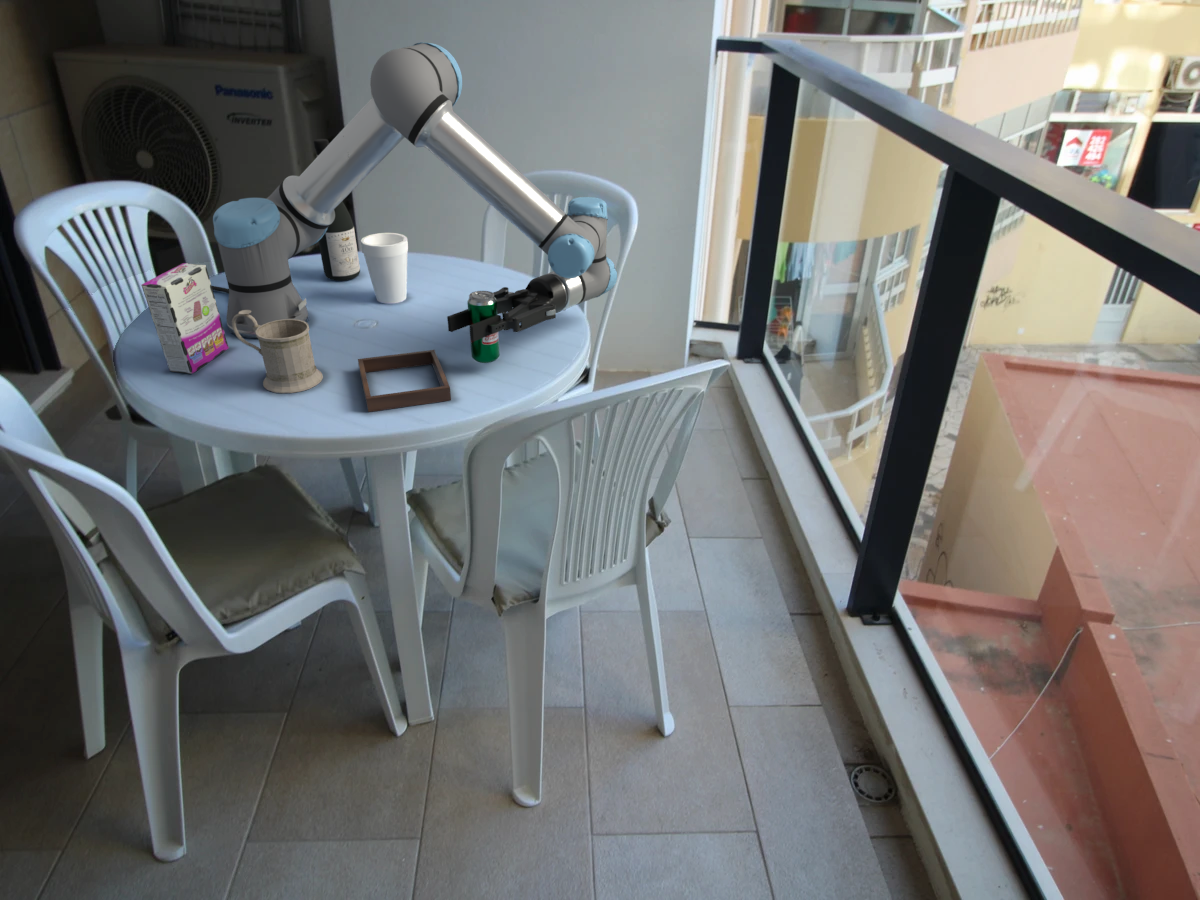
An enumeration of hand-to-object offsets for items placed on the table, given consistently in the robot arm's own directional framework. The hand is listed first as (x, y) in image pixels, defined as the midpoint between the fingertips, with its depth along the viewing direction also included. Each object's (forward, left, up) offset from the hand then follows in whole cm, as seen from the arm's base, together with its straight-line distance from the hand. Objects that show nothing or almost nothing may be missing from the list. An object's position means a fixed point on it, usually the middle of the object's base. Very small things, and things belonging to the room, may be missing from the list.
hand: (460, 328), depth 132 cm
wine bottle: (-60, -16, -10) cm, 63 cm away
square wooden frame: (-1, -10, -10) cm, 14 cm away
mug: (-10, -30, -10) cm, 33 cm away
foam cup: (-43, -7, -10) cm, 44 cm away
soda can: (-3, +5, -8) cm, 9 cm away
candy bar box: (-22, -44, -10) cm, 50 cm away
